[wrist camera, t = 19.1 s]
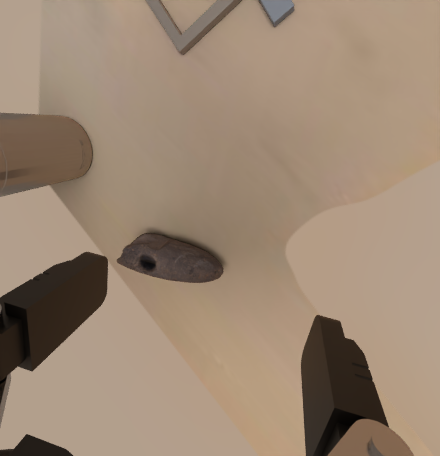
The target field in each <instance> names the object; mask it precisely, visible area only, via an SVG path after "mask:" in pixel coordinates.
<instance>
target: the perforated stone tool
mask: <svg viewBox="0 0 440 456" xmlns="http://www.w3.org/2000/svg"><path fill="white" fill-rule="evenodd" d="M117 263H119V264H121V265H123V266H125V267H127V268H130V269H132V270H135V271H137V272H140V273H143V274H146V275H150V276H153V277H157V278H162V279H166V280H172V281H180V282H190V283H203V282H209V281H213V280H215V279H218V278H220V277H221V275H222V274H223V267H222V265H221V264H220V263H219V261H218V260H217V259H215V258H214V257H213V256H212V255H210V254H209V253H207V252H205V251H204V250H202V249H199V248H197V247H194V246H192V245H189V244H186V243H183V242H180V241H177V240H174V239H171V238H167V237H165V236H161V235H157V234H152V233H146V234H143V235H140V236H139V237H137V238H136V240H134V241H133V242H132V243H131V244H130V245H127V246H126V247H125V248H124V249H123V253H122V255H121V257H120V258H118V259H117Z"/></svg>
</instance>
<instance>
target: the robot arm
mask: <svg viewBox="0 0 440 456" xmlns="http://www.w3.org/2000/svg"><path fill="white" fill-rule="evenodd" d="M91 161H92V147H91V144H90V140H89V138H88V136H87V134H86V132H85V131H84V130H83V128H82V127H81V126H80V125H79V124H78V123H77V122H75V121H74V120H72V119H70V118H68V117H64V116H53V115H35V114H14V113H0V197H1V196H6V195H10V194H13V193H18V192H22V191H26V190H30V189H34V188H39V187H43V186H46V185H51V184H55V183H59V182H63V181H67V180H71V179H75V178H79V177H81V176H82V175H84V174H85V173H86V172H87V170H88V169H89V167H90V164H91ZM107 275H108V260H107V258H106V257H105V256H101V255H98V254H94V253H90V252H85V253H83V254H81V255H80V256H78V257H76V258H75V259H73V260H71V261H66V262H63V263H60V264H56V265H54V266H52V267H51V268H49V269H47V270H46V271H44V272H43V274H39V275H37V276H35V277H34V278H33V280H32V279H30V280H29V281H27V282H25V283H24V284H22V285H20V286H19V287H17V288H15V289H14V290H12V291H10V292H9V293H7V294H5V295H3V296H2V297H1V298H0V426H1V422H2V417H3V412H4V408H5V403H6V399H7V395H8V390H9V386H10V381H11V374H10V373H11V372H12V371H13V370H14V369H15V368H16V367H17V366H18V367H21V368H24V369H27V370H30V371H33V370H34V369H35V368H36V367H37V366H38V365H40V364H41V363H42V362H43V361H44V360H45V359H46V358H47V357H48V356H49V355H50V354H51V353H52V352H53V351H54V350H55V349H56V348H57V347H58V346H59V345H60V344H61V343H62V342H64V341H65V340H66V339H67V338H68V337H69V336H70V335H71V334H72V333H73V332H74V331H75V330H76V329H77V328H78V327H79V326H80V325H81V324H82V323H83V322H84V321H85V320H86V319H87V318H88V317H89V316H91V315H92V314H93V313H94V312H95V311H96V310H97V309H98V308H99V307H100V306H101V305H102V303H103V302H104V300H105V297H106V294H107ZM368 368H369V367H368V364H367V361H366V358H365V355H364V353H363V352H362V350H361V349H360V348H359V347H358V345H357V344H356V343H355V342H354V340H351V339H347V338H345V337H344V333H343V329H342V326H341V322H340V321H338V320H334V319H331V318H327V317H323V316H320V315H317V316H316V317H315V319H314V321H313V324H312V327H311V330H310V333H309V335H308V338H307V341H306V344H305V347H304V350H303V354H302V360H301V376H302V393H303V411H304V428H305V446H306V456H414V455H413V453H412V451H411V450H410V448H409V447H408V445H407V444H406V443H405V442H404V441H403V440H402V438H401V437H400V436H399V435H397V434H396V433H395V432H394V431H393V430H391V429H390V428H389V426H388V423H387V420H386V417H385V414H384V411H383V408H382V405H381V402H380V399H379V396H378V393H377V390H376V387H375V385H374V382H372V376H371V373H370V370H368ZM0 456H73V455H72V454H71V453H70V452H69V451H67V450H66V449H64V448H62V447H59V446H56V445H54V444H51V443H49V442H46V441H43V440H41V439H38V438H35V437H33V436H30V435H28V434H26V435H25V437H24V438H23V439H22V440H21V441H20V443H19V444H18V445H17V446H16V447H15V448H14V449H6V450H0Z"/></svg>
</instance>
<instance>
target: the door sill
mask: <svg viewBox="0 0 440 456" xmlns="http://www.w3.org/2000/svg"><path fill="white" fill-rule="evenodd" d="M259 2H260V3H261V5H262V7H263V8H264V10H265V12H266V14H267V15H268V17H269V19H270V21H271V22H272V24H273V26H274V27H275V26H276V25H278V24H279V23H280V22H281V21H282V20H283V19H285V18H286V17H287V16H288V15H289V14H291V13H292V12H293V11H294V4H293V2H292V1H291V0H259Z"/></svg>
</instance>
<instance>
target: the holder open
mask: <svg viewBox="0 0 440 456" xmlns="http://www.w3.org/2000/svg"><path fill="white" fill-rule="evenodd" d="M146 1H147V3H148V5H149V6H150V8H151V9H152V11H153V12H154V14H155V15H156V17H157V19H158V20H159V22H160V23H161V25H162V26H163V28H164V29H165V31H166V32H167V34H168V36H169V37H170V39H171V40H172V42H173V43H174V45H175V46H176V48H177V50H178V51H179V52H180V53H181V54H183V55H184V54H185V53H186V52H187V51H188V50H189V49H190V48H191V47H192V46H193V45H195V44H196V43H197V42H198V41H199V40H200V39H201V38H202V37H203V36H204V35H205V34H206V33H207V32H208V31H210V30H211V29H212V28H213V27H214V26H215V25H216V24H217V23H218V22H219V21H220V20H221V19H222V18H223V17H225V16H226V15H227V14H228V13H229V12H230V11H231V10H232V9H233V8H234V7H235V6H236V5H237V4H239V3H240V2H241V1H242V0H217V1H216V2H215V3H214V4H213V5H212V6H211V7H210V8H209V9H208V10H207V11H206V12H205V13H204V14H203V15H202V16H201V17H199V18H198V19H197V20H196V21H195V22H194V23H193V24H192V25H191V26H190V27H189V28H188V29H187V30H186V31H185V32H184V33H183V34H181V32H180V31H179V29H178V27H177V26H176V24H175V23H174V21H173V20H172V18H171V16H170V15H169V13H168V12H167V10H166V9H165V7H164V5H163V4H162V2H161V1H160V0H146Z"/></svg>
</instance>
